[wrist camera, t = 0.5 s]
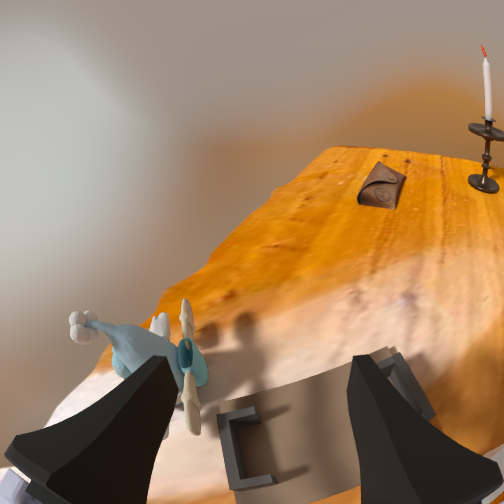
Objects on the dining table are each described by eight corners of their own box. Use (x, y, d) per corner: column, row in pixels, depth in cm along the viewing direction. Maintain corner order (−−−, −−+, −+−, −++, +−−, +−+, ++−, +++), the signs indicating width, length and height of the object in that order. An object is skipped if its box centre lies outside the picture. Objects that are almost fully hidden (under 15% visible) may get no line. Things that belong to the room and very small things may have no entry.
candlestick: (467, 190, 48) (466, 39, 28) (462, 173, 55) (459, 42, 34) (505, 199, 42) (510, 49, 22) (496, 180, 49) (498, 50, 28)
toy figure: (141, 344, 36) (83, 264, 27) (209, 328, 36) (163, 236, 27) (136, 454, 22) (36, 395, 14) (225, 447, 23) (148, 386, 14)
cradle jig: (385, 351, 27) (391, 330, 25) (436, 445, 17) (452, 434, 14) (221, 406, 27) (208, 391, 24) (242, 516, 16) (229, 517, 14)
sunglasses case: (397, 210, 48) (381, 180, 46) (368, 221, 53) (352, 194, 52) (406, 175, 58) (393, 152, 57) (384, 185, 64) (370, 163, 62)
